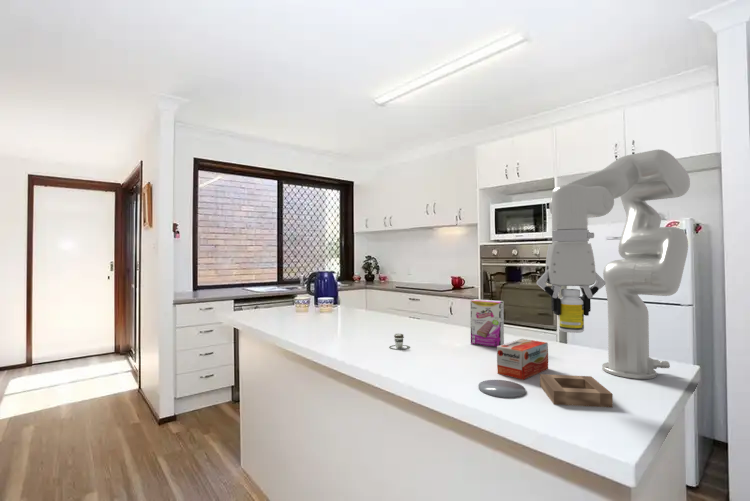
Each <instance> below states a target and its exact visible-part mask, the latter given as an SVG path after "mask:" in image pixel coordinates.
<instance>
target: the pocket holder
mask: <svg viewBox="0 0 750 501" xmlns="http://www.w3.org/2000/svg"><path fill="white" fill-rule="evenodd" d="M539 387H540V388H541V390H543V392H544V394H546V396H547V397H548V399H549V400H550V401H551V402H552V404H553V405H558V406H559V405H560V406H573V407H574V406H575V407H576V406H577V407H591V408H592V407H593V408H594V407H596V408H610V409H611V408H613V407H614V406H613V404H614V403H613V402H614V401H613V399H614V396H613V393H612V392H611V391H610V390H608V389H607V388H606V387H605V386H604V385H603V384H601V383H600V382H599V381H597V380H596V379H595V378H594V377H592V375H572V374H571V375H570V374H569V375H565V374H549V373H547V374H546V373H545V374H543V373H539Z"/></svg>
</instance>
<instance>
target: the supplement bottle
mask: <svg viewBox="0 0 750 501" xmlns="http://www.w3.org/2000/svg"><path fill="white" fill-rule="evenodd" d="M560 293H561V294H560V295H561V296H562V297H559V298H560V300H561V315H557V316H558V317H557V318H558V319H557V320H558V321H557V322H558V323H557V324H558V326H557V327H558V330H559V331H560V332H565V333H572V334H573V333H574V334H575V333H576V334H577V333H578V334H580V333H583V332H584V331H585V318H584V317H585V315H584V303H583V300H582V299H580V298H581V289H580V288H579V289H577V288H561V289H560Z"/></svg>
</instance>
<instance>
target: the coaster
mask: <svg viewBox="0 0 750 501" xmlns="http://www.w3.org/2000/svg"><path fill="white" fill-rule="evenodd" d="M477 387H478V390H479V391H480V392H482V393H483V394H485V395H489V396H492V397H495V398H504V399H510V398H513V399H515V398H519V397H522V396H524V395H525V394H526V388H525V387H524V386H523V385H522V384H520V383H518V382H515V381H510V380H503V379H487V380H483V381H480V382H479V383H478V386H477Z"/></svg>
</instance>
